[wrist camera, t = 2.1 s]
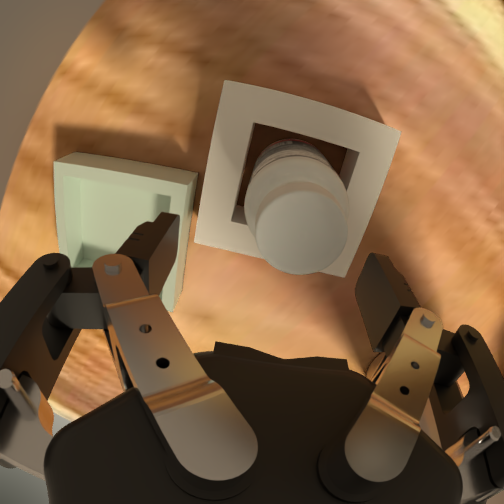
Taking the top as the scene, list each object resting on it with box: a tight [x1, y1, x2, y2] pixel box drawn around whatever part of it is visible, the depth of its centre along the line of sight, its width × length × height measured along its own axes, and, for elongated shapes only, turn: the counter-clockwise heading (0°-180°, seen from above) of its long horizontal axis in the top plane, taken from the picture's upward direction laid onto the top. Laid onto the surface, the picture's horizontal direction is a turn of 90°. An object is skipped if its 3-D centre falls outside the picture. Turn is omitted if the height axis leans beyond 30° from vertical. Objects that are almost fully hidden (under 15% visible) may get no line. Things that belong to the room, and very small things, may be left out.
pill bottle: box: [244, 139, 349, 275], centre depth 17 cm, size 5×5×10 cm
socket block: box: [194, 80, 401, 278], centre depth 20 cm, size 11×11×3 cm
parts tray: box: [54, 152, 199, 312], centre depth 23 cm, size 11×11×3 cm
